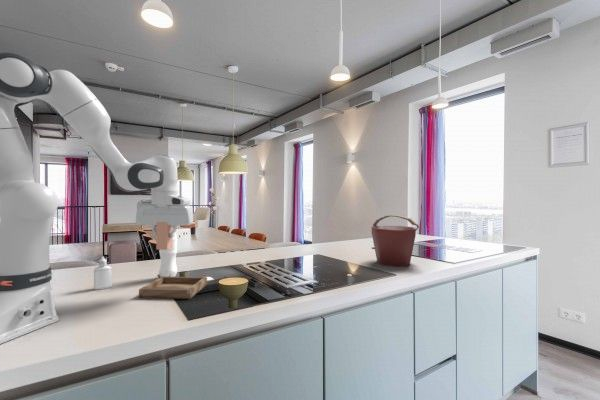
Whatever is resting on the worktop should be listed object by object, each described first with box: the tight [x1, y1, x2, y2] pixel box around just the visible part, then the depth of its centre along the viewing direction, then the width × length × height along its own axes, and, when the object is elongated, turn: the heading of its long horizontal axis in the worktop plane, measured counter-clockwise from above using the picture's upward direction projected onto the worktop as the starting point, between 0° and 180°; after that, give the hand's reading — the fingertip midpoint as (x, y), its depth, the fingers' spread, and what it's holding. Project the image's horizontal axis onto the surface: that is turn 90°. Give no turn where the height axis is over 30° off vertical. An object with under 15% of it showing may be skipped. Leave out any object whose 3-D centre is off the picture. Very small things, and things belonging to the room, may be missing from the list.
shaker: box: [155, 222, 172, 250], centre depth 110 cm, size 4×4×11 cm
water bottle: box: [158, 228, 178, 278], centre depth 128 cm, size 7×7×25 cm
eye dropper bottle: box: [93, 256, 113, 291], centre depth 114 cm, size 4×6×12 cm
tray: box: [138, 276, 208, 300], centre depth 110 cm, size 16×18×3 cm
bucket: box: [371, 214, 420, 268], centre depth 156 cm, size 24×22×25 cm
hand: (164, 237), depth 110 cm, fingers closed on shaker, 4 cm apart
